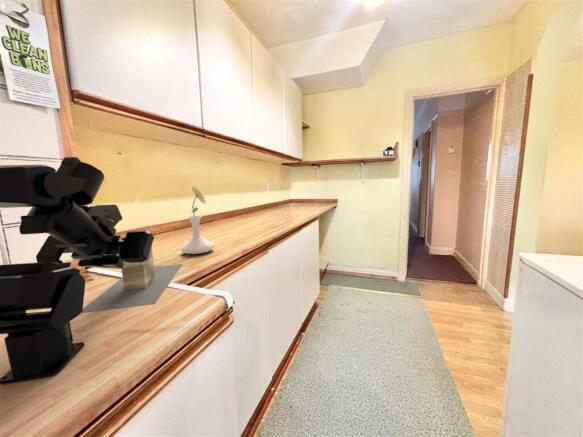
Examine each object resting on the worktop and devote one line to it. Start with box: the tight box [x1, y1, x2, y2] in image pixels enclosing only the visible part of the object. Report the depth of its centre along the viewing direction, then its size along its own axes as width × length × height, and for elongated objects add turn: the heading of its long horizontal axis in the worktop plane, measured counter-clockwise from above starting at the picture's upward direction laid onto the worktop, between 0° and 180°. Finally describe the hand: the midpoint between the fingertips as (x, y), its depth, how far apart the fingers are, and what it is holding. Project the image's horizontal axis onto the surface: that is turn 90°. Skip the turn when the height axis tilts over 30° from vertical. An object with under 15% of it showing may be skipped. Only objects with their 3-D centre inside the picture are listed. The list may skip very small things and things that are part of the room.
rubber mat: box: [81, 263, 183, 314], centre depth 61 cm, size 26×14×1 cm, turn 12°
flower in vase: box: [180, 185, 214, 255], centre depth 89 cm, size 13×11×25 cm
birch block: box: [121, 246, 156, 289], centre depth 59 cm, size 5×5×12 cm
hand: (121, 266), depth 53 cm, fingers closed
